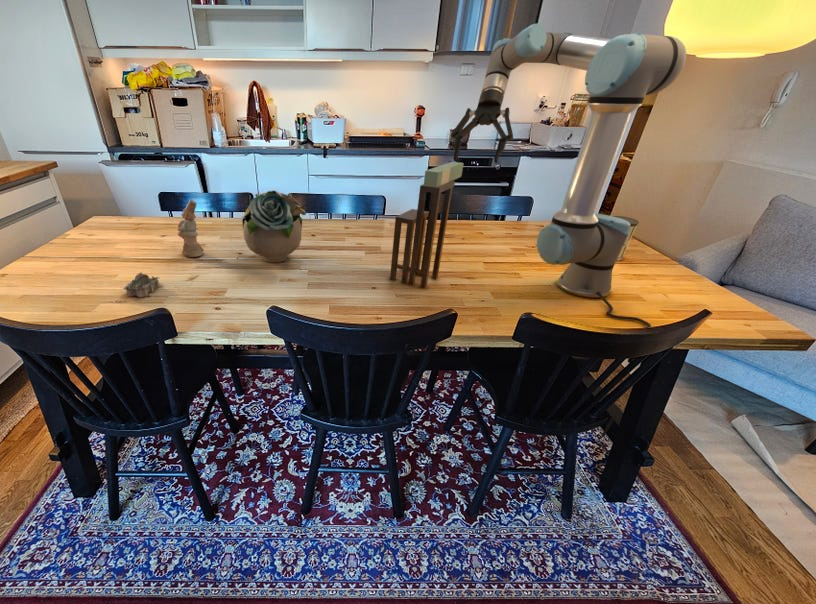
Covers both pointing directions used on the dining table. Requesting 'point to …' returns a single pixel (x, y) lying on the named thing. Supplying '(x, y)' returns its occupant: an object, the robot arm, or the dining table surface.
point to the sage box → (443, 174)
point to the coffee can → (632, 228)
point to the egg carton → (142, 285)
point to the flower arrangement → (273, 225)
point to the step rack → (421, 236)
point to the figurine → (189, 231)
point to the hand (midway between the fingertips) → (474, 160)
